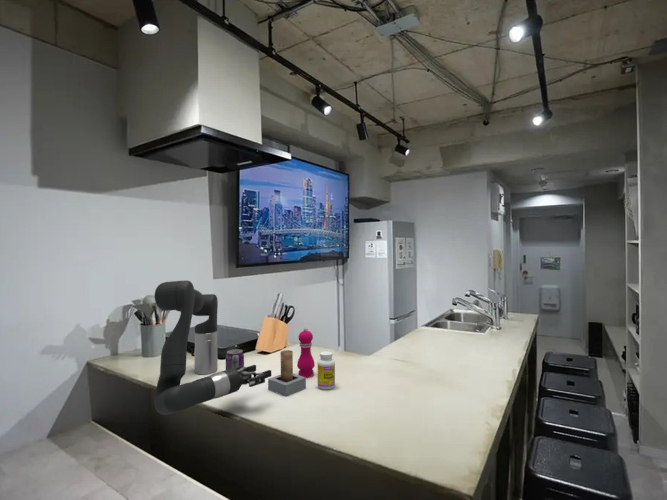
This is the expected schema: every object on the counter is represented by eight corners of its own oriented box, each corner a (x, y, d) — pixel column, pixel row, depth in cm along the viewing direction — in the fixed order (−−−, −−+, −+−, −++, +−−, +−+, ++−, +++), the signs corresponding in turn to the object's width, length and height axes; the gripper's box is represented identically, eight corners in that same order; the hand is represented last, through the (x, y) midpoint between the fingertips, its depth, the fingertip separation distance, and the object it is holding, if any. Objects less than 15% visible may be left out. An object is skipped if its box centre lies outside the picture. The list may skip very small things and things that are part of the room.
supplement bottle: (322, 391, 134) (321, 356, 134) (314, 385, 140) (314, 352, 140) (338, 388, 137) (337, 354, 137) (330, 382, 143) (329, 349, 143)
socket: (268, 389, 136) (268, 378, 136) (288, 381, 144) (288, 371, 144) (285, 396, 130) (285, 385, 130) (305, 388, 137) (305, 377, 137)
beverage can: (247, 379, 147) (247, 350, 147) (236, 385, 140) (235, 354, 140) (234, 377, 150) (233, 348, 150) (221, 382, 143) (221, 352, 143)
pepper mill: (312, 378, 147) (311, 329, 147) (295, 377, 148) (294, 328, 148) (316, 372, 154) (316, 325, 154) (300, 371, 156) (299, 325, 155)
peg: (278, 389, 136) (278, 352, 136) (287, 385, 140) (287, 349, 140) (286, 392, 133) (286, 354, 133) (295, 388, 137) (295, 351, 137)
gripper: (235, 377, 111) (276, 363, 124) (210, 367, 121) (250, 355, 133) (235, 401, 111) (276, 385, 124) (210, 389, 121) (250, 376, 133)
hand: (263, 370), depth 128 cm, fingers open, 8 cm apart
